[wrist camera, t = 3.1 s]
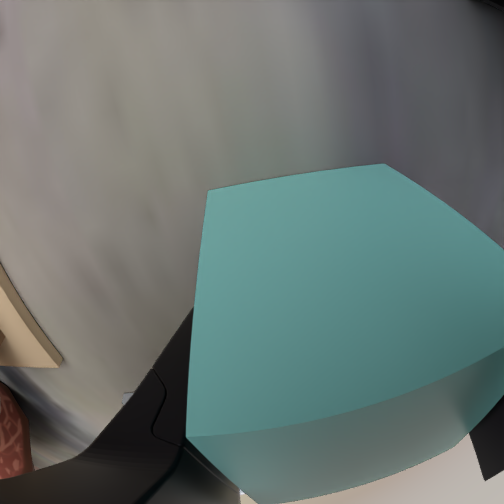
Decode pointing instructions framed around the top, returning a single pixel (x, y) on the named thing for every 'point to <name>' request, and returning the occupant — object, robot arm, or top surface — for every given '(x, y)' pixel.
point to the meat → (13, 437)
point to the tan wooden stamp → (22, 333)
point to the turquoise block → (339, 331)
